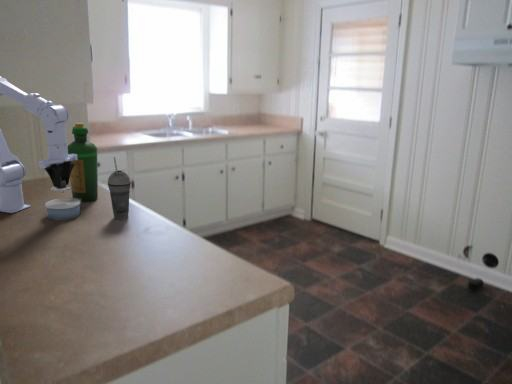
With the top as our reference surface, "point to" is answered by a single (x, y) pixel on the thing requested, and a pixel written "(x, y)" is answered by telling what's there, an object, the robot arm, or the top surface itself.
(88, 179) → the bottle
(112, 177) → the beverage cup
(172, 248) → the top surface
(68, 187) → the knobbed lid
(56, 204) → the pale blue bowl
